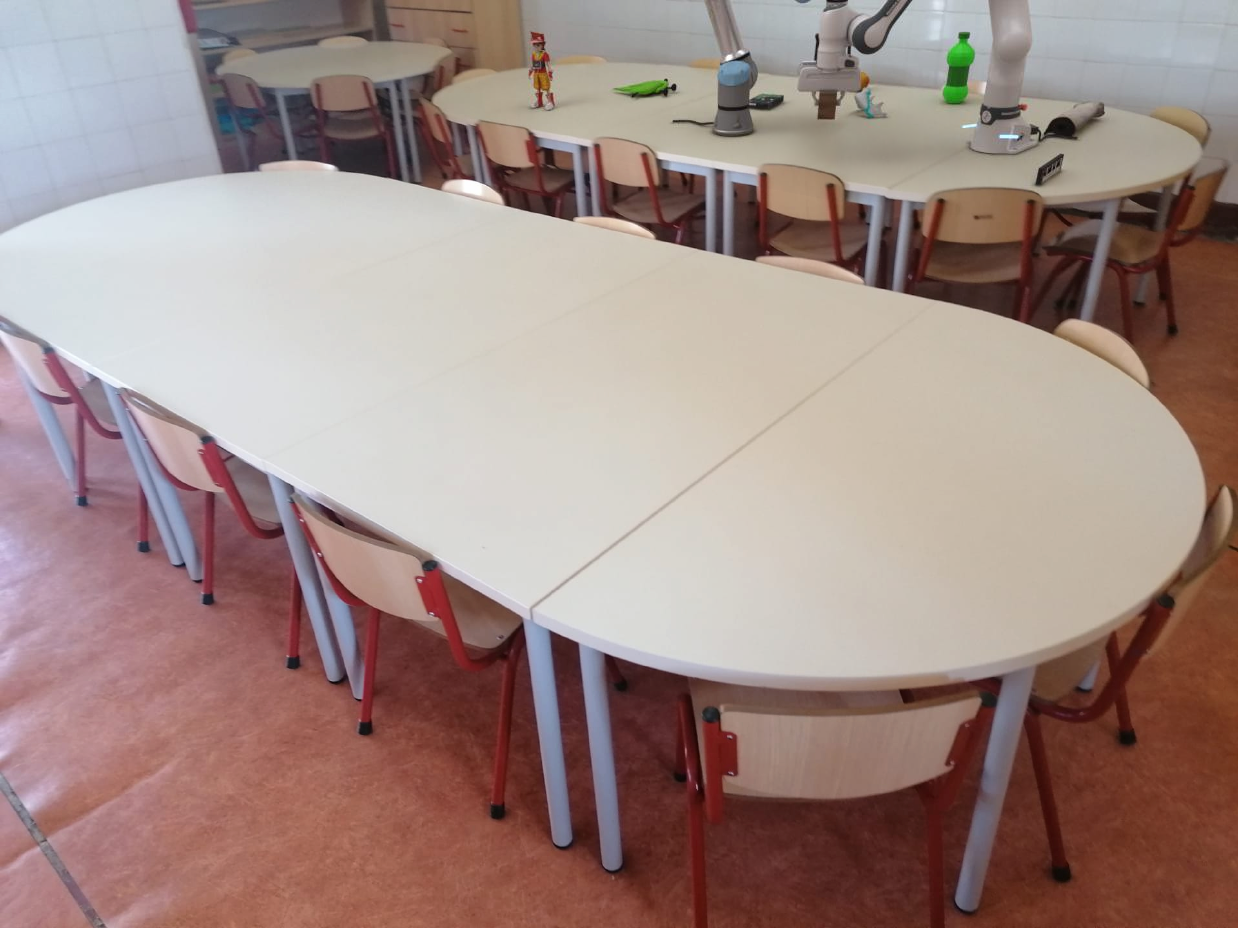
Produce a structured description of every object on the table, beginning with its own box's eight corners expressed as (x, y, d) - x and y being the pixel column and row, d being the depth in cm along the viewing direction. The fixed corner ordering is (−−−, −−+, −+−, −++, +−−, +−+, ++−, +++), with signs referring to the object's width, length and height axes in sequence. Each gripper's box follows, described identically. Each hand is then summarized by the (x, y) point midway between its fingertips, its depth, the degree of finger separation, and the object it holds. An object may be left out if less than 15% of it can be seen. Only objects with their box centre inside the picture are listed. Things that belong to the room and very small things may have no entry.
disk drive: (769, 111, 359) (783, 102, 369) (769, 103, 357) (784, 94, 367) (745, 108, 363) (760, 100, 373) (745, 101, 362) (761, 92, 372)
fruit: (843, 83, 375) (855, 65, 372) (845, 86, 383) (857, 69, 380) (859, 94, 374) (871, 76, 371) (861, 97, 382) (873, 80, 379)
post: (822, 82, 336) (824, 58, 331) (837, 82, 334) (840, 58, 330) (817, 119, 292) (819, 93, 288) (834, 119, 291) (837, 93, 287)
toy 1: (525, 109, 381) (517, 32, 364) (534, 104, 388) (527, 28, 371) (550, 110, 377) (543, 32, 360) (559, 105, 384) (553, 28, 367)
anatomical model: (849, 87, 348) (874, 80, 347) (851, 114, 354) (876, 107, 353) (861, 96, 336) (887, 89, 335) (863, 124, 342) (889, 117, 341)
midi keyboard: (1039, 185, 269) (1043, 168, 266) (1035, 184, 270) (1038, 168, 267) (1060, 170, 279) (1064, 154, 277) (1056, 169, 280) (1060, 153, 277)
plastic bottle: (973, 101, 354) (984, 32, 339) (955, 106, 349) (966, 36, 335) (952, 97, 361) (962, 29, 346) (934, 102, 356) (944, 33, 342)
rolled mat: (1071, 106, 328) (1096, 88, 320) (1085, 127, 329) (1110, 110, 321) (1039, 128, 311) (1065, 111, 303) (1053, 150, 312) (1080, 133, 303)
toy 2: (686, 85, 398) (631, 84, 414) (685, 72, 395) (629, 72, 411) (651, 104, 381) (596, 103, 397) (650, 92, 378) (594, 91, 394)
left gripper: (808, 17, 316) (803, 86, 329) (863, 16, 312) (855, 86, 325) (809, 13, 322) (804, 81, 335) (863, 12, 318) (856, 82, 331)
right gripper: (797, 63, 286) (794, 108, 294) (863, 62, 282) (858, 108, 290) (798, 58, 291) (795, 103, 299) (863, 58, 287) (858, 103, 295)
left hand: (830, 84), depth 330 cm, fingers closed on post, 6 cm apart
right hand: (827, 105), depth 294 cm, fingers closed on post, 5 cm apart
